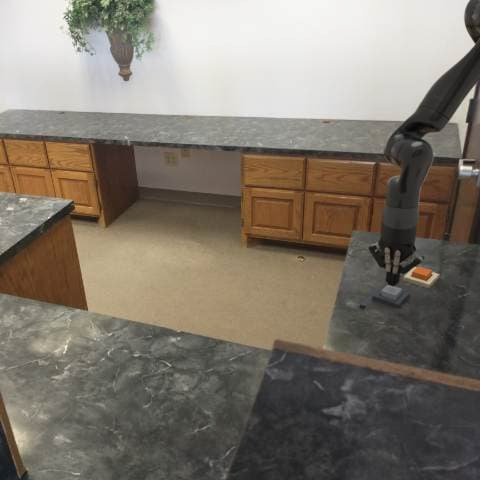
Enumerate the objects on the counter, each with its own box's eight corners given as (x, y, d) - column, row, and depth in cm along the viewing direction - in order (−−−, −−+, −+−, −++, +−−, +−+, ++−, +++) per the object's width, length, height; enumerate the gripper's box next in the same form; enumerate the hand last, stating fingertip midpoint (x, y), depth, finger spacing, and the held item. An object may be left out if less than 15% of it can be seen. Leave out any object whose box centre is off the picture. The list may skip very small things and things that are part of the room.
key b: (387, 290, 130) (388, 284, 129) (401, 294, 127) (402, 288, 126) (380, 296, 127) (381, 290, 127) (394, 301, 125) (395, 295, 124)
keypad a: (410, 270, 141) (412, 260, 140) (449, 281, 135) (451, 271, 133) (391, 288, 134) (392, 278, 133) (430, 301, 128) (432, 291, 126)
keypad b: (381, 287, 135) (382, 278, 134) (420, 300, 128) (422, 290, 127) (359, 307, 128) (360, 297, 127) (399, 322, 121) (400, 312, 120)
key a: (417, 271, 136) (418, 266, 135) (431, 275, 133) (432, 270, 132) (411, 277, 134) (412, 271, 133) (425, 281, 131) (426, 275, 130)
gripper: (436, 222, 116) (426, 286, 123) (379, 209, 125) (373, 270, 133) (422, 233, 111) (412, 300, 119) (364, 219, 120) (359, 282, 128)
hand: (391, 284), depth 126 cm, fingers closed
